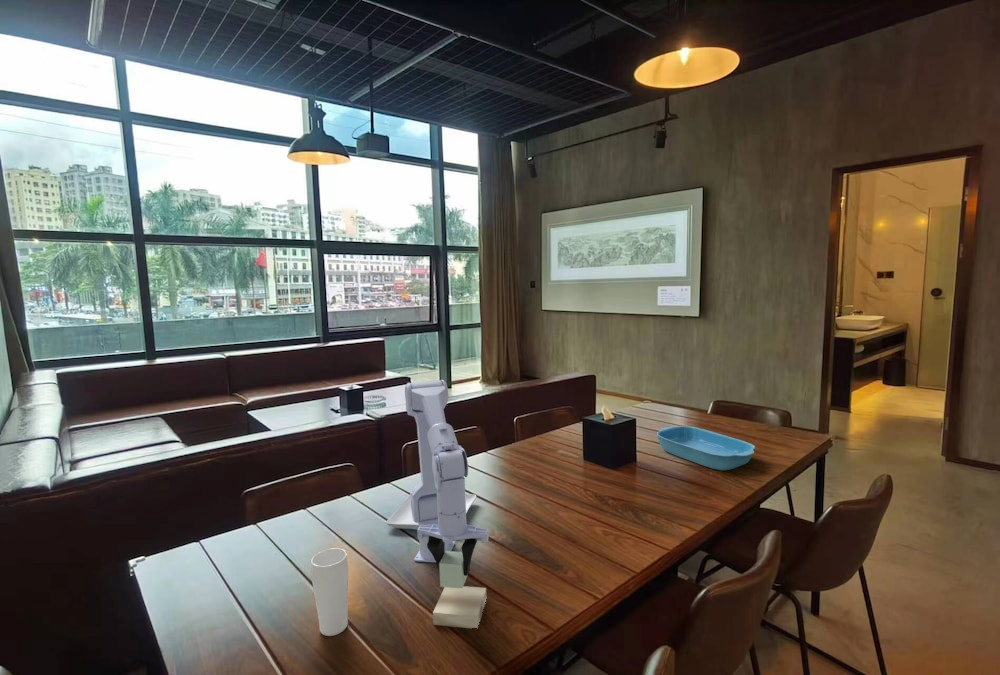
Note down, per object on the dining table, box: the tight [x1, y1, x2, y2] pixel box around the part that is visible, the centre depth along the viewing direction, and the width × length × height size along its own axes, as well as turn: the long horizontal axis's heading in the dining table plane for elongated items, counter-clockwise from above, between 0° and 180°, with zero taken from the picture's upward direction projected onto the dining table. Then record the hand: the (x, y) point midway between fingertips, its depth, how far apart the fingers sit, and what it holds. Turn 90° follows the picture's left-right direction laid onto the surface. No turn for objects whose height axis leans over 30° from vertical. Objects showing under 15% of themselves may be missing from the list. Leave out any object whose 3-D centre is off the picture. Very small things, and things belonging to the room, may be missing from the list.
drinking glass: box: [310, 547, 349, 637], centre depth 94 cm, size 7×7×15 cm
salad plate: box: [385, 491, 477, 531], centre depth 140 cm, size 21×21×3 cm
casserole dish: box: [656, 425, 756, 471], centre depth 182 cm, size 37×22×7 cm, turn 31°
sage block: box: [438, 550, 469, 589], centre depth 98 cm, size 5×5×5 cm
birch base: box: [432, 585, 488, 630], centre depth 99 cm, size 9×9×3 cm
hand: (454, 571), depth 98 cm, fingers closed on sage block, 5 cm apart
